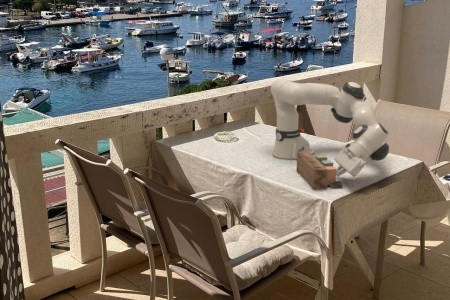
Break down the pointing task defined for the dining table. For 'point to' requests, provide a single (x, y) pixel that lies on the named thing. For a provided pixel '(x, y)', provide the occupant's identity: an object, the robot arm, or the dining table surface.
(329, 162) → the slate key
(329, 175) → the terracotta key
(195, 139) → the dining table surface
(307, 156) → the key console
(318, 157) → the olive key
